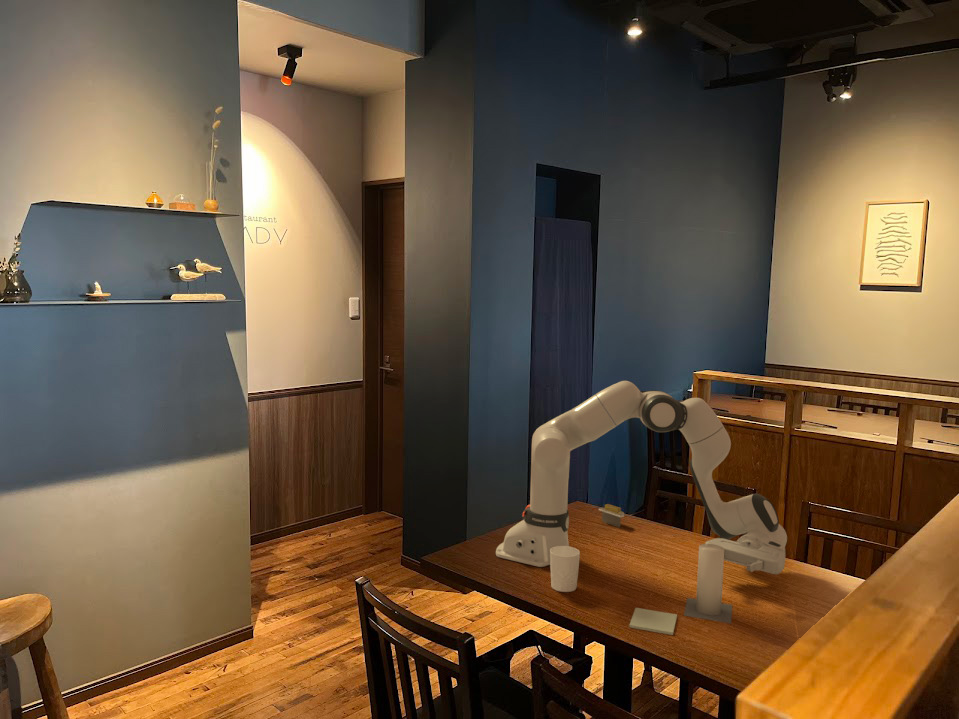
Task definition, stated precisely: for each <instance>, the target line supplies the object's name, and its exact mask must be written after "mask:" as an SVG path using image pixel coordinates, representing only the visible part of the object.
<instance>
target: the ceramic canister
mask: <svg viewBox="0 0 959 719" xmlns="http://www.w3.org/2000/svg"><path fill="white" fill-rule="evenodd" d="M697 559H698V560H697V582H696V596H695V597H696V598H695V599H696V610H697V611H698V612H700V613H702V614H705V615H719V614H720V613H721V604H722V603H723V602H722V601H723V600H722V599H723V580H724V562H725V560H724V548H723V547H721V546H718V545H714V544H705V543H703V544H699V545H698V558H697Z"/></svg>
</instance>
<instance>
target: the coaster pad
mask: <svg viewBox="0 0 959 719" xmlns="http://www.w3.org/2000/svg"><path fill="white" fill-rule="evenodd" d="M677 618H678V614H677V613H671V612H665V611H658V610H652V609H648V608H642V607H641V608H639V607H635V608H634V611H633V613H632V617H631V619H630V621H629V622H630V623H629V625H628V627H629V628H631V629H636V630H643V631H645V632H646V631H648V632H652V633H653V632H654V633H659V634H664V635H671V636H673V635H674V631H675V626H676V623H677Z"/></svg>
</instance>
